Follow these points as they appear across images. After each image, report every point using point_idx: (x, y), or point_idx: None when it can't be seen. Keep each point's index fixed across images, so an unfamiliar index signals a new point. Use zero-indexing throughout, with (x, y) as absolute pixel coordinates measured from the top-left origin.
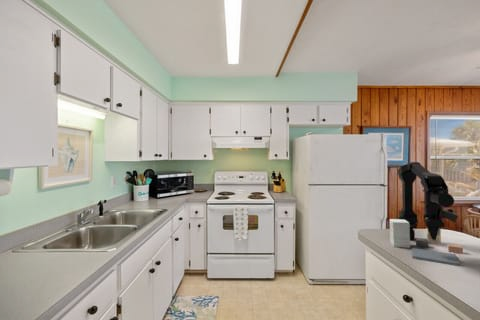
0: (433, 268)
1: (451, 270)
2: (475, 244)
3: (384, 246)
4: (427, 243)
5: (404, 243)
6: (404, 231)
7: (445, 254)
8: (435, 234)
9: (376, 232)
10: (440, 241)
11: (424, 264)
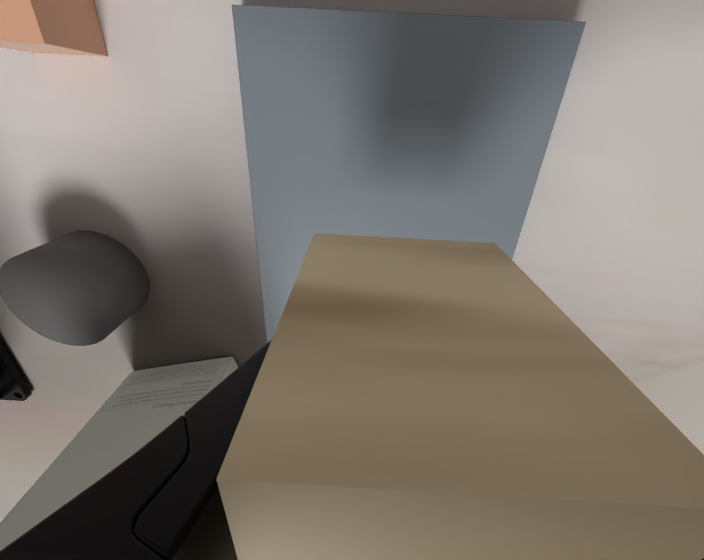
0: (663, 268)
1: (700, 143)
2: None
3: None
4: (83, 256)
5: None
6: None
7: (308, 126)
8: None
9: (9, 484)
10: (503, 257)
11: (584, 310)
